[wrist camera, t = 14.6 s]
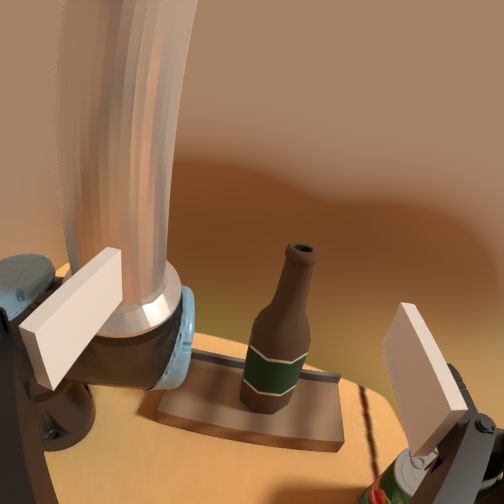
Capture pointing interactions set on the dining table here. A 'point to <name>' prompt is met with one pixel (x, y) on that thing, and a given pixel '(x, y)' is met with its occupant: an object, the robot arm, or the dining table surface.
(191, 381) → the shelf
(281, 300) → the beer bottle
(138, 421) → the dining table surface
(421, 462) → the canned tomato
